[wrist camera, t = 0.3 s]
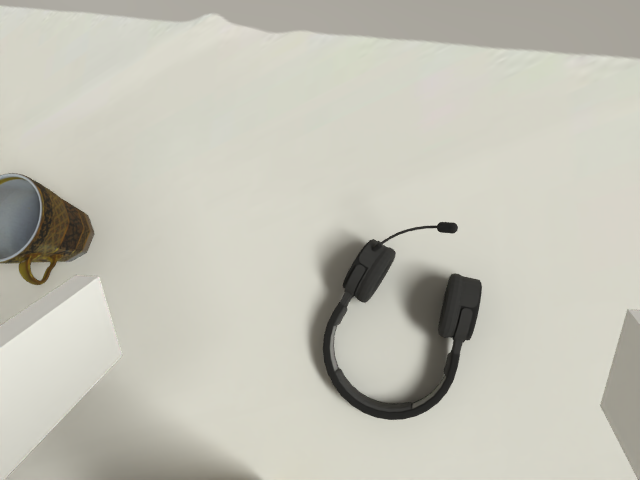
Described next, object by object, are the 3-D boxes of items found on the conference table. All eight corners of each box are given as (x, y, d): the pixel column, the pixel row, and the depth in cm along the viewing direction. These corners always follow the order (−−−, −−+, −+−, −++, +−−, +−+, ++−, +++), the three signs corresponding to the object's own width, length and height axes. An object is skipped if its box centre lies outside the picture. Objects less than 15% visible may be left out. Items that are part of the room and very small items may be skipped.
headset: (519, 245, 35) (429, 471, 35) (499, 252, 44) (428, 431, 44) (367, 191, 38) (285, 396, 38) (378, 208, 48) (312, 374, 48)
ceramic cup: (30, 221, 57) (-46, 200, 48) (92, 185, 56) (28, 156, 47) (57, 308, 54) (-19, 304, 44) (123, 271, 53) (61, 259, 43)
